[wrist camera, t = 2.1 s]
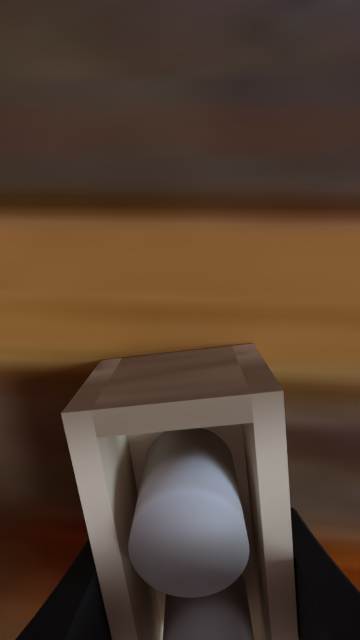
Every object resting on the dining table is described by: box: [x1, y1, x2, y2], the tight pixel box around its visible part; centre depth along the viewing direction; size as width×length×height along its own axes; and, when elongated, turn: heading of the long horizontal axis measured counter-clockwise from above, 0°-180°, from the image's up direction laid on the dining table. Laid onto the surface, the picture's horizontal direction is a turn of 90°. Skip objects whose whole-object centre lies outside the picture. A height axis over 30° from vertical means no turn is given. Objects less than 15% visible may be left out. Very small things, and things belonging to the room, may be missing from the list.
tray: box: [61, 343, 298, 640], centre depth 10 cm, size 12×5×4 cm, turn 7°
